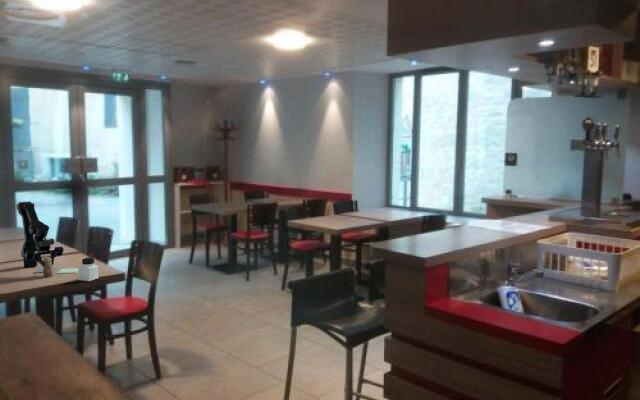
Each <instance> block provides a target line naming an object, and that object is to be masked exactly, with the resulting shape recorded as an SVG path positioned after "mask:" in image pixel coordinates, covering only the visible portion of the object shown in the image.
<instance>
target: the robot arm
mask: <svg viewBox="0 0 640 400" xmlns="http://www.w3.org/2000/svg"><path fill="white" fill-rule="evenodd" d="M16 210H17V212H18V214H19V216H20V217H21V220H22V227H23V234H24V235H23V236H24V242H23V244H22V248H21V250H20V256H21V258H23V266H22V268H36V267H37V266H39V264H40V266H41V267H43V266H44V263H43V258H42V256H46V255H50V256H49V258H51V261H52V266H54V265H55V264H54V262H55V258H56V257H61V256H63V253H64V250H65V249H64V247H63V246H55V247H54V249H51V246H52V245H54V244H55V239H54V238H49V239H47V236H48V235H49V234H48V233H49V231H50V226H49V225H47V224H45V222H42V221H40V220H39V217H38V215H37V214H38V213H37V211H36V209H35V203H33V202H31V201H19V202H18V203H16Z"/></svg>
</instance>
